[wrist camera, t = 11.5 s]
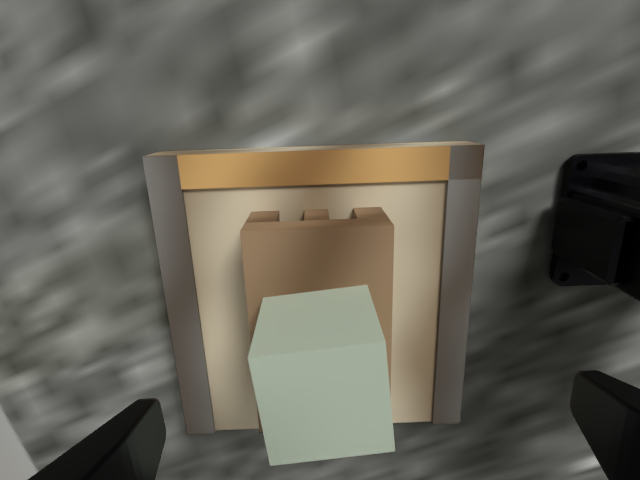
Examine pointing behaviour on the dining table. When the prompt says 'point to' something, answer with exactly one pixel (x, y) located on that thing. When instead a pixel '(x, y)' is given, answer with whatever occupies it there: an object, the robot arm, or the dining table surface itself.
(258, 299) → the walnut pallet
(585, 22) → the dining table surface
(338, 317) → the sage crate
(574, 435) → the dining table surface
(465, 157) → the birch dock
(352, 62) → the dining table surface
